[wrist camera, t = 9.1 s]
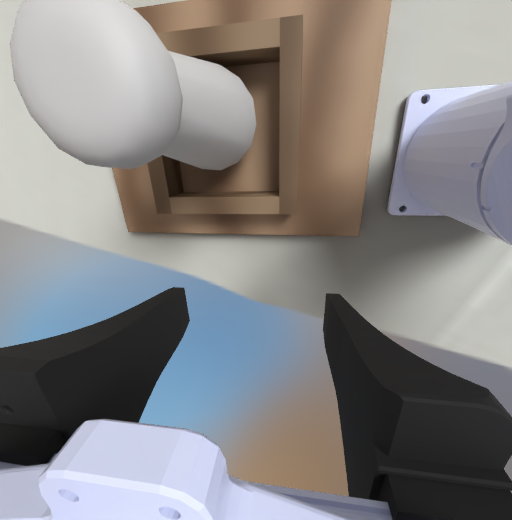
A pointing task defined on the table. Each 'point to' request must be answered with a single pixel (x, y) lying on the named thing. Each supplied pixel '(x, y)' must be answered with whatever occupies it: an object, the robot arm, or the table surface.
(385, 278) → the table surface
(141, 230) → the socket board
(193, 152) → the salt shaker
